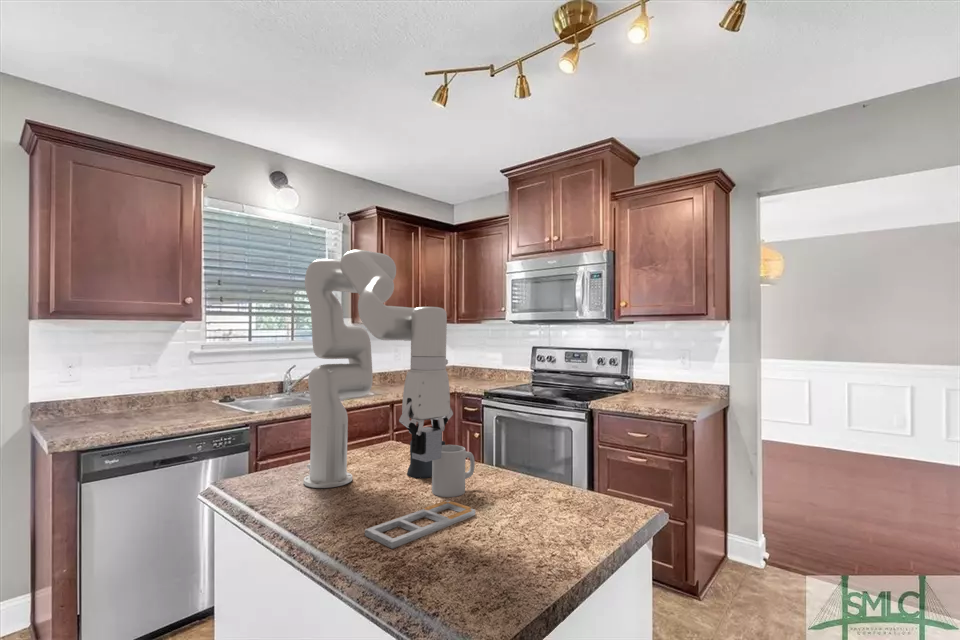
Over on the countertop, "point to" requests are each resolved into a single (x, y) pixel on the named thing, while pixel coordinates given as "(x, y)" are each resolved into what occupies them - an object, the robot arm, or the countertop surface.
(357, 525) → the countertop surface
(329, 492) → the countertop surface
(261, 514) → the countertop surface
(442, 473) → the mug
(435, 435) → the grey rectangular block
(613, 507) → the countertop surface
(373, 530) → the grey flat frame
